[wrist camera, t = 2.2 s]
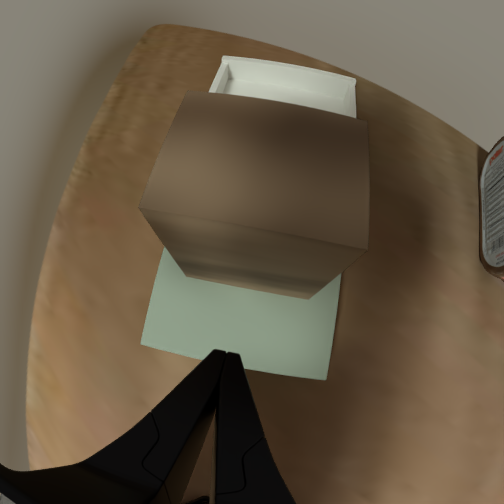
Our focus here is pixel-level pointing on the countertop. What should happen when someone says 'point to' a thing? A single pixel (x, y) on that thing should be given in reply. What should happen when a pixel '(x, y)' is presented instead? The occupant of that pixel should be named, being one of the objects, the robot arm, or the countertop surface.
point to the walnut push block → (261, 193)
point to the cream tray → (286, 84)
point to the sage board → (241, 323)
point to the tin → (492, 211)
